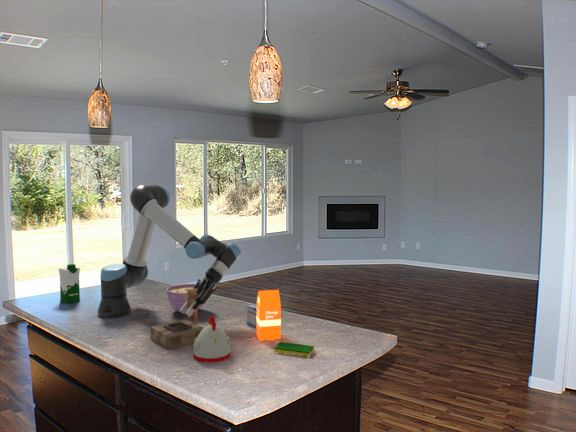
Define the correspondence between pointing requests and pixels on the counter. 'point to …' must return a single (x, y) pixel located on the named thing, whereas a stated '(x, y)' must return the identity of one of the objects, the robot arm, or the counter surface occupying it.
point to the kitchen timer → (211, 344)
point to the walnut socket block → (175, 333)
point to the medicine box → (252, 315)
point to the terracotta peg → (190, 299)
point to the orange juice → (268, 315)
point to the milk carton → (69, 284)
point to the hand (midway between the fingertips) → (184, 313)
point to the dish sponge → (294, 349)
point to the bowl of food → (179, 296)
